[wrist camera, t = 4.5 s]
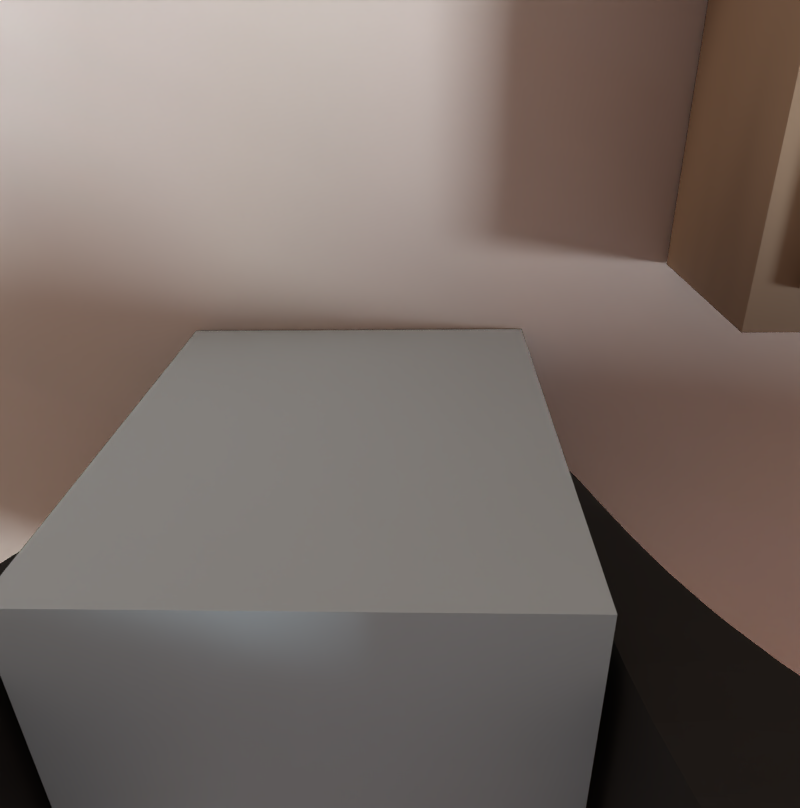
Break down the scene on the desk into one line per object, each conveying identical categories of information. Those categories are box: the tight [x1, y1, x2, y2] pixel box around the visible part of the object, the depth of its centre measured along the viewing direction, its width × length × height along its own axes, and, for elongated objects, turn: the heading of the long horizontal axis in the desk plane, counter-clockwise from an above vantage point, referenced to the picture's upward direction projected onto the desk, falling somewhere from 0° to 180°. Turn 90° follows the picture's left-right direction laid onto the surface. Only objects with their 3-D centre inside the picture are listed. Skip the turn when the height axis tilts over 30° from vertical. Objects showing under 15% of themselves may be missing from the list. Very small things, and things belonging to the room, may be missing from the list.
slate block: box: [0, 329, 617, 808], centre depth 9 cm, size 5×5×6 cm
